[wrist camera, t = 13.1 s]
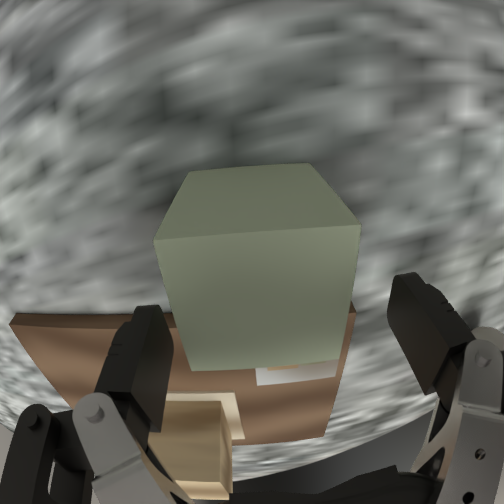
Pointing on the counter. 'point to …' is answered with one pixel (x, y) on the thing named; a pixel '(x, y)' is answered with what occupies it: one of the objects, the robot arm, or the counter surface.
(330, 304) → the sage block
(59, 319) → the baseplate
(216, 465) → the maple block
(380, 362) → the counter surface
